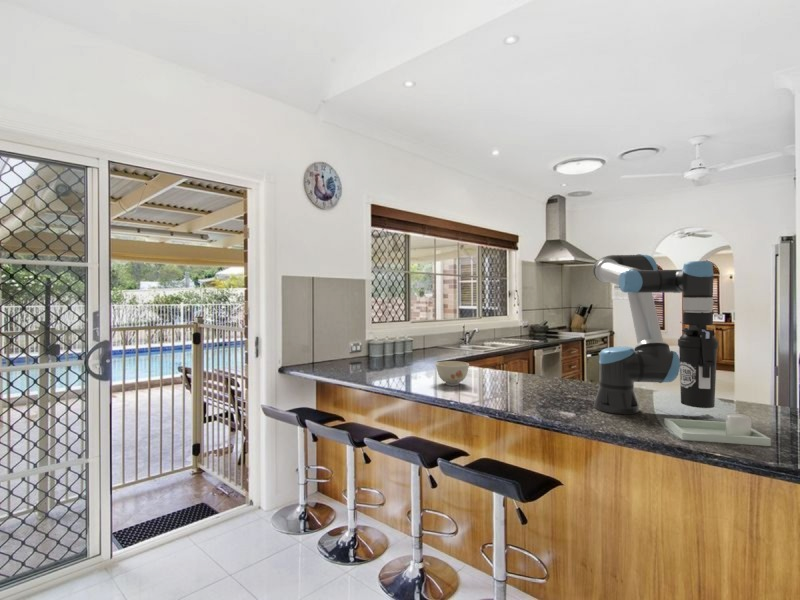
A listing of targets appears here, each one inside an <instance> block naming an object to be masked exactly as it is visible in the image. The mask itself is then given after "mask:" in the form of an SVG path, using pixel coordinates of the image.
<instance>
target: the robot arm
mask: <svg viewBox="0 0 800 600" xmlns="http://www.w3.org/2000/svg"><path fill="white" fill-rule="evenodd" d="M713 264H714V263H713V262H711V261H708V260H697V261H695V260H694V261H686V262H684V264H683V268H682V269H658V264H657V262H656V260H655V259H654V257H653V256H651V255H648V254H639V253H638V254H611V255H606V256H603V257H601V258H599V259H598V260H597V261H596V262H594V264H593V266H592V273H593V276H594V278H595V279H596V280H598V281H600V282H601V283H605V284H606V283H607V284H608V283H612V284H615V285H616V286H618V287H619V289H620V291H621V292H622V293H627V297H628V301H629V307H630V311H631V316H632V322H633V328H634V331H635V332H634V333H635V337H636V342H637V345H636V346H635V347H632V346H612V347H605V348H604V349H601V350H600V352H599V357H598V359H599V360H598V363H599V365H598V366H599V367H598V368H599V370H598V371H599V374H598V375H599V377H598V378H599V382H598V383H599V385H598V390H597V393H596V396H595V398H594V403H593V405H594V408H595V409H596V410H599V411H601V412H606V413H611V414H615V415H616V414H617V415H634V414H637V413H639V412H640V407H639V406H640V405H639V401H638V399H637V396H636V393H635V390H634V387H635V386H634V384H635V383H658V384H662V383H672V382H674V381H675V380H676V379H677V378H678V376H679V374H680V355H679V354H678V353H677V352H676V351H673V350H671V349H670V345H669V344H668V343H667V342H665V341H664V339H663V335H662V331H661V325H660V322H659V318H658V314H657V308H656V303H655V299H654V295H653V294H654V293H664V294H665V293H673V294H674V293H675V294H677V293H678V294H681V293H682V294H683V295H682V310H683V311H684V312H683V313H682V323H683V325H689V326H688V327H685V328H684V329H683V330H694V331H697V332H694V334H697V335H698V336H700V337H701V345H702V351H699V360H700V364H698V367H699V388H701V389H710V367H711V366H714V365H715V362H714V352H713V343H712V334H713V333H712V332H707V330H708V328H707V326H712V325H713V324H714V313H712V311H713V310H714V304H715V301H714V298H713V297H714V275H715V273H714V267H713V266H714V265H713ZM683 332H684V331H683ZM683 334H685V332H684V333H683Z"/></svg>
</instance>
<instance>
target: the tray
mask: <svg viewBox="0 0 800 600" xmlns="http://www.w3.org/2000/svg"><path fill="white" fill-rule="evenodd" d="M663 422H664V424H663V425H664V426H665V427H667V428H668V429H669V430H670V431H671V432H672V433H674V434H675V436H677V437H679V438H680V440H682V441H692V442H693V441H694V442H696V441H697V442H709V443H723V444H734V445H736V444H737V445H748V446H749V445H750V446H761V447H771V446H772V439H771V438H770V437H769V436H767V435H765V434H763V433H761V432H759V431H758V430H757V429H755V428H752V427H751V436H738V435H726V421H716V420H714V421H713V420H700V419H699V420H698V419H685V418H670V417H669V418H664V419H663Z"/></svg>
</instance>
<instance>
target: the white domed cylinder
mask: <svg viewBox="0 0 800 600" xmlns="http://www.w3.org/2000/svg"><path fill="white" fill-rule="evenodd" d="M725 422H726V435H738V436H751V428H752V417H751V416H749V415H746V414H741V413H726V414H725Z"/></svg>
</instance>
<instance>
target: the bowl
mask: <svg viewBox="0 0 800 600" xmlns="http://www.w3.org/2000/svg"><path fill="white" fill-rule="evenodd" d="M469 366H470V364H469V362H465V361H459V360H458V361H456V360H455V361H454V360H445V361H439V362H436V363H435V367H436V372H437V374H438V377H439V378H440V379H441V381H443V382H444V383H445V385H446V386H450V387H451V386H452V387H455V386H459V385H460V383H461V382H463V381H464V380H465V379H466V377H467V375H468V371H469V368H470V367H469Z"/></svg>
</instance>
